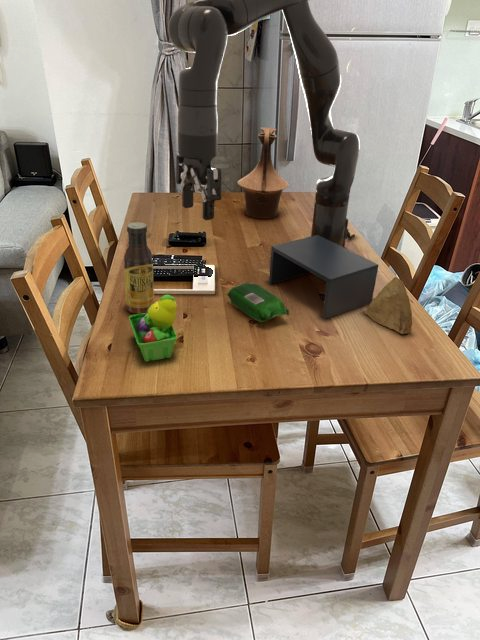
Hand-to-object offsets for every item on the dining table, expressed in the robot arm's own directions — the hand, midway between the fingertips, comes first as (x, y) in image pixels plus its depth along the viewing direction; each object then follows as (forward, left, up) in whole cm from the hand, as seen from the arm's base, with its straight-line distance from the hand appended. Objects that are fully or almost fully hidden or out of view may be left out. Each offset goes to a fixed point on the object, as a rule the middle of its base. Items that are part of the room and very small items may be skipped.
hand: (197, 213), depth 104 cm
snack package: (-11, +8, -23) cm, 27 cm away
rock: (-33, +27, -23) cm, 48 cm away
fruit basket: (+15, +9, -23) cm, 29 cm away
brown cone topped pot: (-51, -46, -23) cm, 73 cm away
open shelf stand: (-30, +8, -23) cm, 38 cm away
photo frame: (-3, -15, -23) cm, 28 cm away
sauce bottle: (+11, -7, -23) cm, 27 cm away
